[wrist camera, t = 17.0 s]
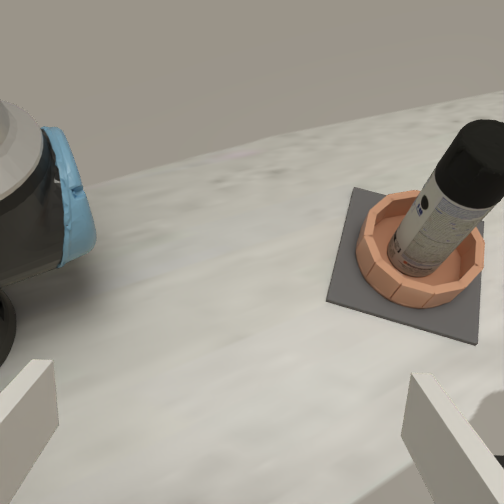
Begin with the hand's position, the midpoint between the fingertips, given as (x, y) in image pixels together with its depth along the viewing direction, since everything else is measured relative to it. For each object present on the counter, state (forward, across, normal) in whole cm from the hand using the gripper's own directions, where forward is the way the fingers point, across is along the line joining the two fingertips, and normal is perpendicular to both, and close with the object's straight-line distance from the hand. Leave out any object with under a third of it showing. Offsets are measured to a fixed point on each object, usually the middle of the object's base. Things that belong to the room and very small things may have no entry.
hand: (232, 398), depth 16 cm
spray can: (+39, +22, -5) cm, 45 cm away
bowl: (+40, +22, -5) cm, 45 cm away
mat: (+40, +22, -6) cm, 46 cm away
